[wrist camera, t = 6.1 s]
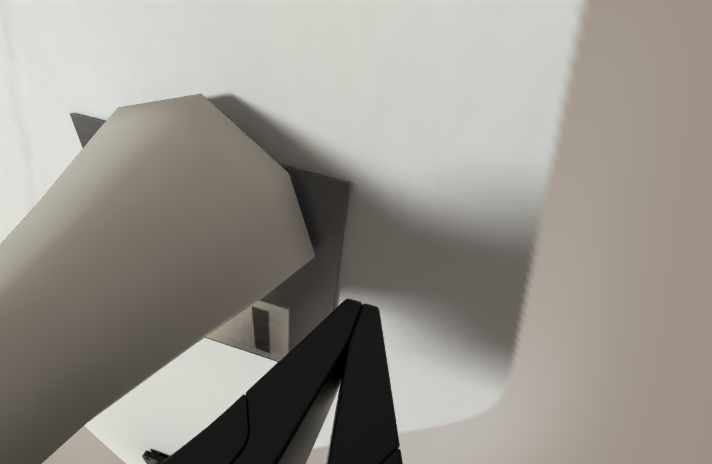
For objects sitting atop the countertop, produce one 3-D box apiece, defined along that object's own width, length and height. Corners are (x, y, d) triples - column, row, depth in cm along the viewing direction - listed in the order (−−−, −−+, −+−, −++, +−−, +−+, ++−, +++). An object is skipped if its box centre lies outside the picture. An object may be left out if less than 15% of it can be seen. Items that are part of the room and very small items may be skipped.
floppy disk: (324, 375, 16) (323, 379, 16) (148, 317, 17) (145, 320, 17) (349, 182, 10) (347, 186, 10) (71, 112, 11) (66, 114, 11)
